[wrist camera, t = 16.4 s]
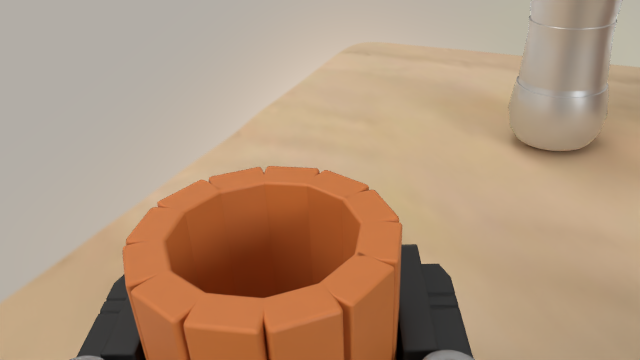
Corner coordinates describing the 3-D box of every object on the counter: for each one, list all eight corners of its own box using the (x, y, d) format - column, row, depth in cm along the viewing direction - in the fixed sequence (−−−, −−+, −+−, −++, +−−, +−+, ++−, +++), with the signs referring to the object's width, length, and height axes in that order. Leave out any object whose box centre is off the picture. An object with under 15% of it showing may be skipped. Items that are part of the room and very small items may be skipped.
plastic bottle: (619, 144, 41) (699, -186, 31) (558, 172, 38) (625, -183, 28) (544, 116, 45) (593, -178, 35) (485, 139, 42) (519, -175, 32)
